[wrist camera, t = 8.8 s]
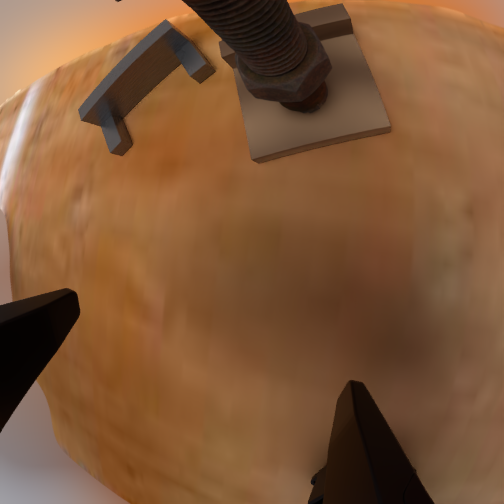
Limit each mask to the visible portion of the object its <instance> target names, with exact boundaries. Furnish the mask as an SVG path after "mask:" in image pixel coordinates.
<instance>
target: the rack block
mask: <svg viewBox="0 0 504 504" xmlns="http://www.w3.org/2000/svg"><path fill="white" fill-rule="evenodd" d="M294 16H295V17H296V20H297V21H298V22H302V23H307V24H310V26H311V27H312V28H313V30H314V32H315V33H316V35H317V36H318V38H319V40H320V42H321V43H322V45H323V47H324V49H325V51H326V53H327V55H328V57H329V60H330V63H331V65H332V69H331V71H330V73H329V74H328V76H327V77H326V79H325V82H326V85H327V88H328V96H327V99H326V102H325V103H324V104H321V105H318V104H317V105H318V106H319V108H320V109H318V110H317V111H315V112H313V113H308V112H307V113H302V112H297V111H292V110H289V109H287V108H285V107H283V106H282V105H281V104H280V102H276V101H268V100H262V99H257V98H255V97H254V96H253V95H252V94H251V93H250V92H249V91H248V90H247V89H246V87H245V84H244V82H243V80H242V78H241V76H240V73H239V71H238V69H237V65H236V62H235V54H236V52H234V51H233V49H231V48H230V47H229V46H228V45H227V44H226V43H225V42H224V41H223V40H222V41H220V42H219V46H220V51H221V57H222V58H223V59H224V60H225V61H226V62H227V63H228V64H229V65H230V66H231V67H232V68H233V71H234V76H235V80H236V85H237V90H238V95H239V100H240V105H241V110H242V114H243V119H244V124H245V129H246V134H247V139H248V144H249V149H250V155H251V160H253V161H255V162H257V163H262V162H265V161H269V160H272V159H276V158H280V157H283V156H287V155H291V154H295V153H299V152H302V151H306V150H310V149H314V148H319V147H323V146H327V145H331V144H336V143H340V142H345V141H349V140H354V139H358V138H363V137H368V136H373V135H378V134H383V133H389V132H390V128H391V125H390V122H389V119H388V116H387V113H386V110H385V107H384V105H383V102H382V99H381V97H380V94H379V91H378V89H377V86H376V83H375V81H374V78H373V76H372V74H371V71H370V69H369V66H368V64H367V62H366V59H365V57H364V55H363V53H362V51H361V48H360V46H359V44H358V42H357V40H356V38H355V36H354V34H353V28H352V23H351V18H350V16H349V15H348V13H347V11H346V9H345V7H344V6H343V4H337V5H332V6H327V7H323V8H319V9H315V10H311V11H307V12H303V13H299V14H296V15H294Z"/></svg>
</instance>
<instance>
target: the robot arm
mask: <svg viewBox="0 0 504 504" xmlns="http://www.w3.org/2000/svg"><path fill="white" fill-rule="evenodd" d="M79 315H80V307H79V301H78V295H77V293H76V292H75V291H73V290H71V289H69V288H64V289H61V290H57V291H53V292H49V293H45V294H41V295H37V296H34V297H30V298H26V299H22V300H18V301H15V302H11V303H7V304H4V305H0V433H1V431H2V429H3V427H4V426H5V424H6V423H7V421H8V420H9V418H10V417H11V415H12V414H13V412H14V411H15V409H16V407H17V406H18V405H19V403H20V402H21V400H22V399H23V397H24V396H25V394H26V393H27V391H28V390H29V389H30V387H31V386H32V384H33V383H34V381H35V380H36V379H37V377H38V376H39V375H40V373H41V372H42V371H43V369H44V368H45V367H46V365H47V364H48V363H49V361H50V360H51V359H52V357H53V356H54V355H55V353H56V352H57V350H58V349H59V348H60V346H61V345H62V343H63V341H64V340H65V338H66V337H67V335H68V333H69V332H70V330H71V329H72V327H73V326H74V324H75V322H76V321H77V319H78V318H79ZM311 484H312V485H314V487H313V490H312V492H311V495H310V498H309V500H308V504H435V503H434V502H433V500H432V499H431V497H430V496H429V494H428V493H427V491H426V489H425V488H424V486H423V484H422V483H421V481H420V479H419V477H418V476H417V473H416V470H414V469H413V467H412V465H411V463H410V462H409V460H408V458H407V456H406V455H405V453H404V451H403V449H402V448H401V446H400V444H399V442H398V441H397V439H396V437H395V436H394V434H393V432H392V430H391V429H390V427H389V425H388V424H387V422H386V420H385V418H384V417H383V415H382V413H381V412H380V410H379V408H378V407H377V405H376V403H375V402H374V400H373V398H372V396H371V395H370V393H369V391H368V390H367V388H366V386H365V385H364V384H363V383H362V382H359V381H354V380H350V381H349V382H348V383H347V384H346V386H345V388H344V389H343V391H342V393H341V394H340V396H339V398H338V401H337V405H336V411H335V416H334V422H333V427H332V432H331V437H330V443H329V449H328V459H327V465H326V466H325V467H324V468H322V469H321V470H320V471H319V473H318V474H316V475H315V476H313V477H312V479H311Z"/></svg>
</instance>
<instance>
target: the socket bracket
mask: <svg viewBox="0 0 504 504" xmlns="http://www.w3.org/2000/svg"><path fill="white" fill-rule="evenodd" d="M181 63H182V65H183V66H184V68H185V69H186V71H187V72H188V74H189V75H190V77H192V78H193V79H195V80H196V81H197V82H199V83H201V82H203V81H204V80H205V79H206V78H208V77H209V76H210V75H212V74H213V73H214V72H215V70H214V69H213V67H212V66H211V65H210V63H209V62H208V61H207V59H206V58H205V57H204V56H203V54H202V53H201V52H200V50H199V49H198V48H197V47H196V45H195V44H194V43H193V42H192V40H191V39H189V38H188V37H187V36H186V35H185V34H183V33H182V32H181V31H180V30H179V29H177V28H176V27H175V26H174V25H173V24H171V23H170V22H169V21H168V20H166V19H165V20H164V21H163V22H162V23H160V24H159V25H158V26H157V27H156V28H155V29H154V30H152V31H151V32H150V33H149V34H148V35H147V36H146V37H145V38H144V39H143V40H141V41H140V42H139V43H138V44H137V45H136V46H135V47H134V48H133V49H132V50H131V51H130V52H129V53H128V54H127V55H126V56H125V57H124V58H123V59H122V60H121V61H120V62H119V63H118V64H117V65H116V66H115V67H114V68H113V69H112V71H111V72H110V73H109V74H108V75H107V76H106V77H105V78H104V79H103V80H102V82H101V83H100V84H99V85H98V86H97V87H96V89H95V90H94V91H93V92H92V93H91V94H90V96H89V97H88V98H87V99H86V100H85V102H84V103H83V104H82V105H81V107H80V108H79V109H78V111H79V114H80V118H81V121H84V122H88V123H91V124H94V125H97V126H101V128H102V131H103V134H104V137H105V140H106V143H107V145H108V148H109V151H110V153H112V154H116V155H120V156H122V155H123V154H124V153H125V152H126V151H127V150H128V149H129V148H130V147H131V146H132V145H133V143H132V141H131V138H130V136H129V134H128V131H127V129H126V126H125V124H124V121H123V118H124V117H125V116H126V115H127V114H128V113H129V112H130V111H131V110H132V109H133V108H134V107H135V106H136V105H137V104H138V103H139V102H140V101H141V100H142V99H143V98H144V97H145V96H146V95H147V94H148V93H149V92H150V91H151V90H152V89H153V88H154V87H155V86H156V85H157V84H158V83H159V82H161V81H162V80H163V79H164V78H165V77H166V76H167V75H168V74H169V73H171V72H172V71H173V70H174V69H175V68H176V67H178V66H179V65H180V64H181Z"/></svg>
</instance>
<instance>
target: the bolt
mask: <svg viewBox="0 0 504 504" xmlns="http://www.w3.org/2000/svg"><path fill="white" fill-rule="evenodd" d="M116 1H118V2H119V1H121V0H116ZM182 1H183V2H184V3H186V4H187V5H188V6H189V7H191V8H192V9H193V10H194V11H195V12H196V13H197V14H198V16H200V17H201V18H202V19H203V20H204V21H205V23H206V24H207V25H208V26H209V27H210V28H211V29H212V30H213V31H214V32H215V33H216V34H217V35H218V36H220V37H221V39H222V40H223V41H224V42H225V43H226V44H227V45H228V46H229V47H230V48H231V49H233V51H234V52H236V54H235V62H236V65H237V69H238V71H239V73H240V76H241V78H242V80H243V82H244V84H245V87H246V89H247V90H248V91H249V92H250V93H251V94H252V95H253V96H254V97H255V98H257V99H262V100H268V101H276V102H280V104H281V105H282V106H283V107H285V108H287V109H289V110H292V111H297V112H302V113H307V112H308V113H313V112H315V111H317V110H318V109H320V108H319V106H318V105H321V104H324V103H325V102H326V99H327V96H328V88H327V85H326V82H325V79H326V77H327V76H328V74H329V73H330V71H331V69H332V65H331V63H330V60H329V57H328V55H327V53H326V51H325V49H324V47H323V45H322V43H321V42H320V40H319V38H318V36H317V35H316V33H315V32H314V30H313V28H312V27H311V26H310V24H307V23H302V22H298V21H297V20H296V17H295V16H294V14H293V12H292V10H291V8H290V6H289V3H288V2H287V0H182ZM317 104H318V105H317Z"/></svg>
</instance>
